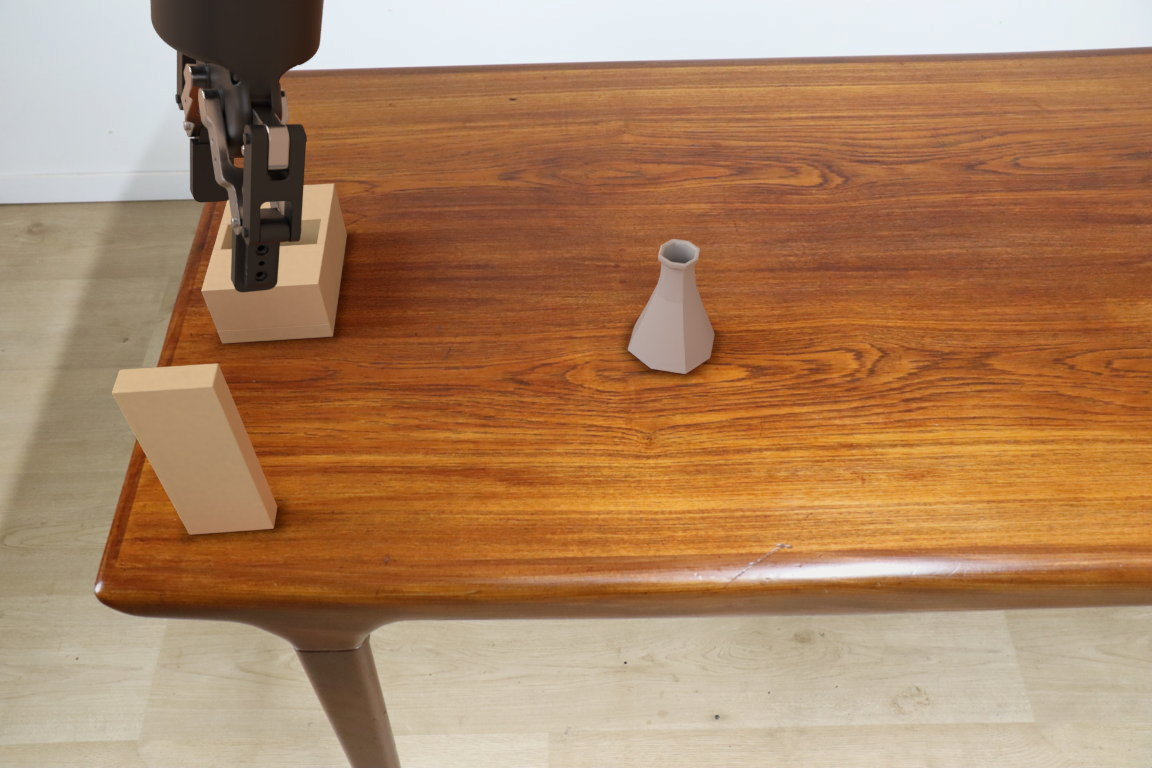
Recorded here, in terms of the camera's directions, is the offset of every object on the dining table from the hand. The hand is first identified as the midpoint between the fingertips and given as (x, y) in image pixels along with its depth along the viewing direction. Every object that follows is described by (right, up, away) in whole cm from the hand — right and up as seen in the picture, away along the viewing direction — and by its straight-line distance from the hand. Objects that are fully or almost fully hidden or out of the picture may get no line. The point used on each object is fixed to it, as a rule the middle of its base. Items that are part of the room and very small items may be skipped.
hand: (231, 241), depth 52 cm
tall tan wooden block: (-6, -18, +16) cm, 25 cm away
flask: (+27, -5, +28) cm, 39 cm away
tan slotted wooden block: (-7, +1, +34) cm, 34 cm away
